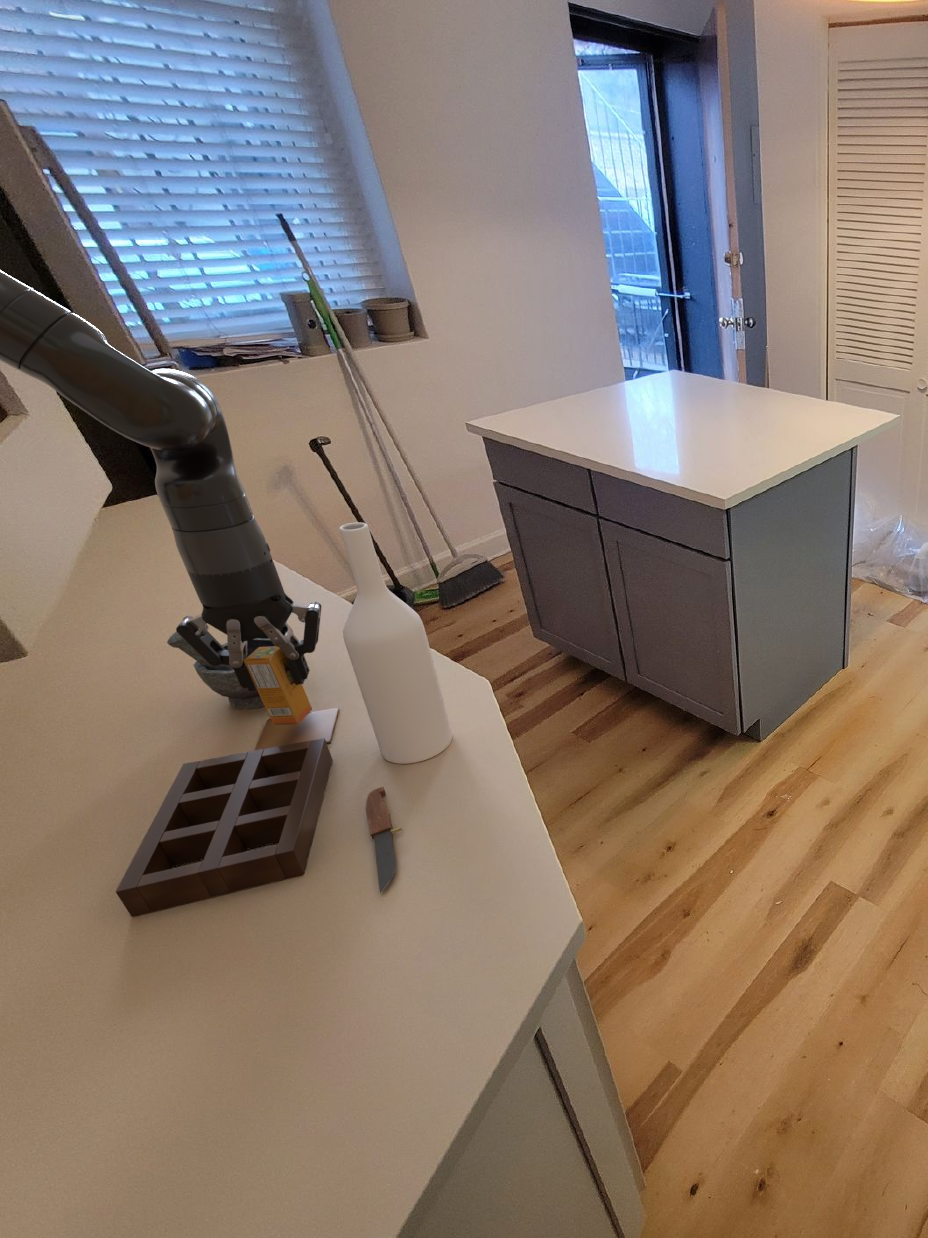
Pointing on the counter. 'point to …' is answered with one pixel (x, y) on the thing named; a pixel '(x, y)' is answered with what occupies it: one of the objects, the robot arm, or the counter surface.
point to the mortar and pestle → (223, 673)
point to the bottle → (392, 661)
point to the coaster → (299, 730)
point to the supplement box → (277, 686)
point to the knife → (381, 835)
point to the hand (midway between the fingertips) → (278, 684)
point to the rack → (230, 826)
